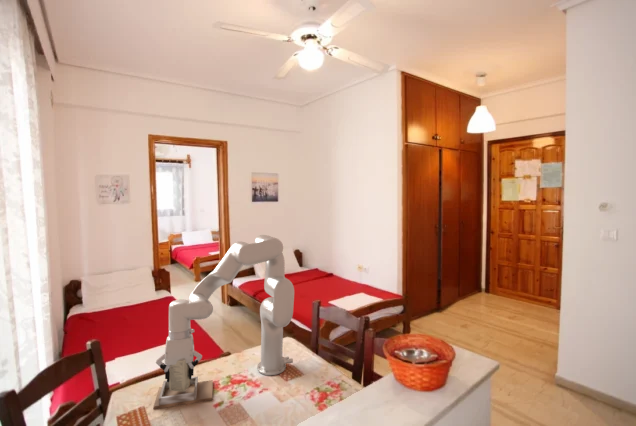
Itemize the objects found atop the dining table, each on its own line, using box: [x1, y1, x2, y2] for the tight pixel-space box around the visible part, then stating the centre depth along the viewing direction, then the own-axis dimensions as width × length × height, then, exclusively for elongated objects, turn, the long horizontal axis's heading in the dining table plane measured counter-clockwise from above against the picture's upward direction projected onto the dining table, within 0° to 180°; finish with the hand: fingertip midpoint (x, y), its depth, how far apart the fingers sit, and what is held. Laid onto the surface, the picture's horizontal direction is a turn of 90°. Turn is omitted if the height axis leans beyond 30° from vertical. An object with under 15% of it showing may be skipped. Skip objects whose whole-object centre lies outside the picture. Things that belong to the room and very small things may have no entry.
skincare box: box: [169, 359, 190, 392], centre depth 125 cm, size 6×4×12 cm
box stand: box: [153, 376, 214, 410], centre depth 126 cm, size 20×12×4 cm, turn 107°
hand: (179, 378), depth 125 cm, fingers closed on skincare box, 7 cm apart
